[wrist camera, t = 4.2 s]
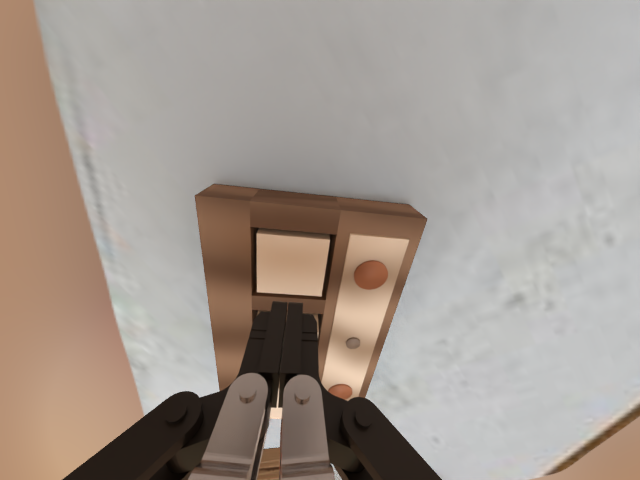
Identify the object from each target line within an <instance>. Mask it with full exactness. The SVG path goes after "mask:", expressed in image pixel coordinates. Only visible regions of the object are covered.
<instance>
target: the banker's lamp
mask: <svg viewBox="0 0 640 480" xmlns="http://www.w3.org/2000/svg"><path fill="white" fill-rule="evenodd" d="M279 463H280V448H271V449H263V453H262V458H261V463H260V468H259V473H258V478H257V480H279Z"/></svg>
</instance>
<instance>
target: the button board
mask: <svg viewBox="0 0 640 480" xmlns="http://www.w3.org/2000/svg"><path fill="white" fill-rule="evenodd" d="M195 201H196V209H197V217H198V225H199V232H200V240H201V248H202V256H203V264H204V272H205V280H206V287H207V295H208V303H209V311H210V319H211V327H212V334H213V342H214V350H215V358H216V366H217V374H218V382H219V389H220V391H222V390H223V389H225V388H227V387H228V386H229V385H230V384H231V383H232V382H233V381H234V380H235V379H236V377H237V375H238V373H239V370H240V367H241V363H242V360H243V356H244V353H245V349H246V345H247V342H248V339H249V335H250V331H251V328H252V324H253V321H254V319H255V317H256V316H257V313H258V310H264V311H271V307H272V302H273V301H282V302H287V311H288V303H289V302H300V303H303V313H315V314H318V327H319V334H318V361H319V377H320V381H321V383H322V385H323V386H324V388H325V389H326V390H327V391H328V392H330V393H331V394H333V395H335V396H337V397H339V398H342V399H344V400H347V401H349V400H350V399H352V398H354V397H363V398H365V396H366V394H367V391H368V388H369V385H370V382H371V379H372V376H373V374H374V371H375V368H376V365H377V362H378V359H379V356H380V353H381V351H382V348H383V345H384V342H385V339H386V336H387V333H388V331H389V328H390V325H391V322H392V319H393V316H394V313H395V311H396V308H397V305H398V302H399V299H400V296H401V293H402V290H403V288H404V285H405V282H406V279H407V276H408V273H409V270H410V268H411V265H412V262H413V259H414V256H415V253H416V250H417V248H418V245H419V242H420V239H421V236H422V233H423V230H424V227H425V225H426V222H427V218H426V217H424V216H423V215H422V214H421V213H419V212H418V211H417V210H416V209H414V208H413V207H412V206H410V205H408V204H398V203H389V202H380V201H370V200H361V199H351V198H342V197H332V196H323V195H313V194H304V193H294V192H285V191H275V190H266V189H256V188H247V187H237V186H228V185H218V184H213V185H211V186H210V187H208V188H206V189H205V190H203V191H202V192H200V193H198V194H197V195H195ZM259 228H268V229H279V230H290V231H301V232H313V233H324V234H330V244H329V251H328V257H327V264H326V270H325V277H324V283H323V290H322V296H306V295H291V294H276V293H261V292H257V232H258V230H259Z"/></svg>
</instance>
